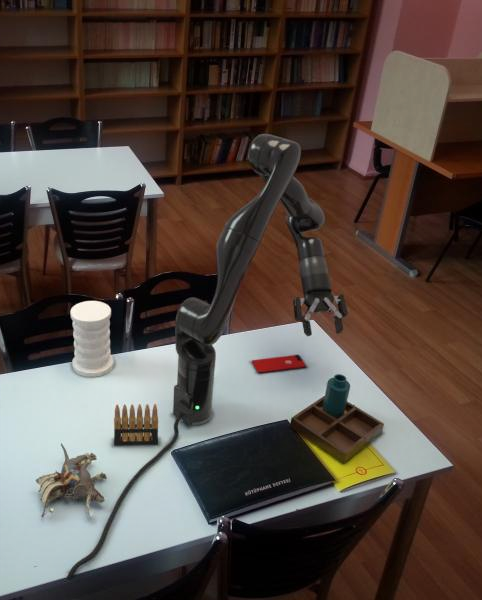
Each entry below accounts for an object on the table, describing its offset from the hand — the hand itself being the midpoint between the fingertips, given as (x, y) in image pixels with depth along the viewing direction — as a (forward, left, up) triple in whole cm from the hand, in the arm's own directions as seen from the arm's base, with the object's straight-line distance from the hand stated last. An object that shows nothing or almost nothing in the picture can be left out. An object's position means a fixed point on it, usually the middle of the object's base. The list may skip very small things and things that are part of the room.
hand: (324, 334), depth 162 cm
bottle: (-5, -10, -18) cm, 21 cm away
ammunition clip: (-51, +15, -19) cm, 56 cm away
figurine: (-72, +12, -19) cm, 75 cm away
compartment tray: (-9, -14, -19) cm, 25 cm away
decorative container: (-41, +48, -19) cm, 66 cm away
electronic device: (+1, +14, -19) cm, 23 cm away
